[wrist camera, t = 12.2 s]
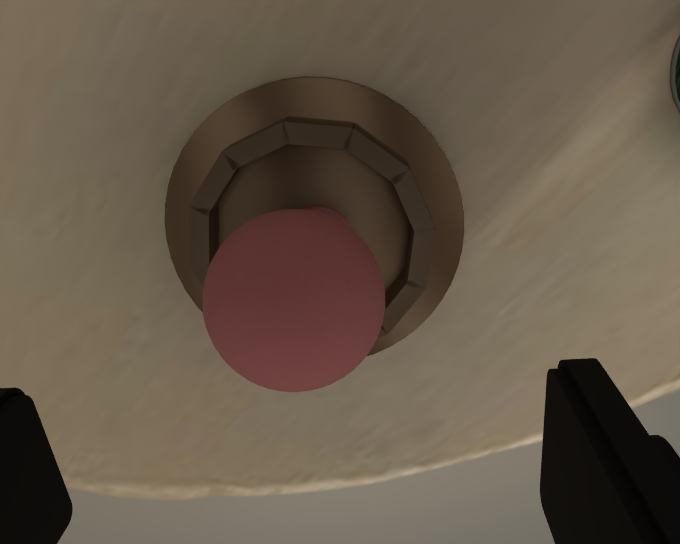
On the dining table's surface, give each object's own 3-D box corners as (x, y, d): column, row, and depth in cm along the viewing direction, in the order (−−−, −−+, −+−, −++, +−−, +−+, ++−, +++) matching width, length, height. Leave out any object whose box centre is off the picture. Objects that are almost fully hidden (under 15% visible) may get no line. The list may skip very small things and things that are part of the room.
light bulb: (220, 212, 30) (134, 315, 19) (332, 138, 28) (310, 203, 17) (296, 313, 32) (260, 460, 21) (405, 251, 30) (428, 374, 19)
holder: (390, 18, 27) (393, 15, 24) (501, 295, 32) (514, 320, 29) (114, 159, 30) (88, 171, 27) (257, 390, 35) (247, 420, 32)
